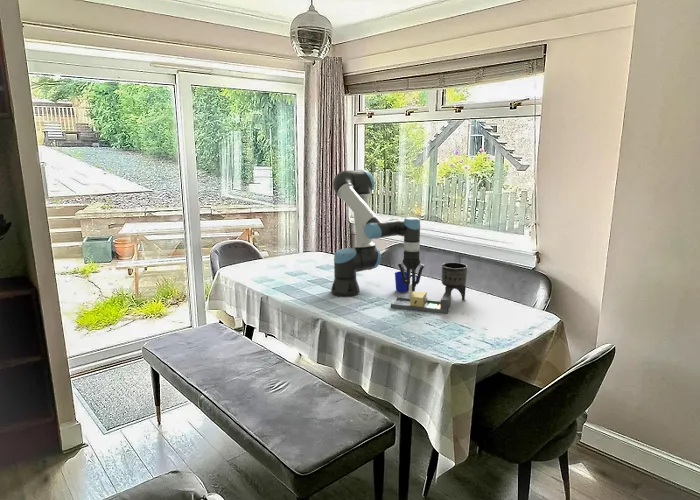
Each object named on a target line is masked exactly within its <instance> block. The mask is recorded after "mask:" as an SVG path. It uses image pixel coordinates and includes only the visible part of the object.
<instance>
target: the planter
mask: <svg viewBox="0 0 700 500" xmlns="http://www.w3.org/2000/svg"><path fill="white" fill-rule="evenodd" d="M468 268H469V267H468V265H467V264H465V263H461V262H453V261H451V262H445V263H442V264H441V284H442V286H445V289H444V290H445V291H444V293H445V292H449V293H451V294H452V291H453V290H454V289H455V290H457V292H459V293H460V295H461V301H465V299H466V289H467V288H466V287H467V279H468V278H467V277H468Z"/></svg>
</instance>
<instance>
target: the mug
mask: <svg viewBox="0 0 700 500" xmlns="http://www.w3.org/2000/svg"><path fill="white" fill-rule="evenodd" d="M405 276H406V280H407V271H405ZM417 276H418V274H416V279H417ZM410 279H412V274H410ZM394 281H395V290H396V291H397V292H398V293H407V292H408V291H407V284H406V283H403V280H402V275H401V271H400V270H399V271H396V272H395V273H394ZM416 286H417V284H416V285H415V288H416Z"/></svg>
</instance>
